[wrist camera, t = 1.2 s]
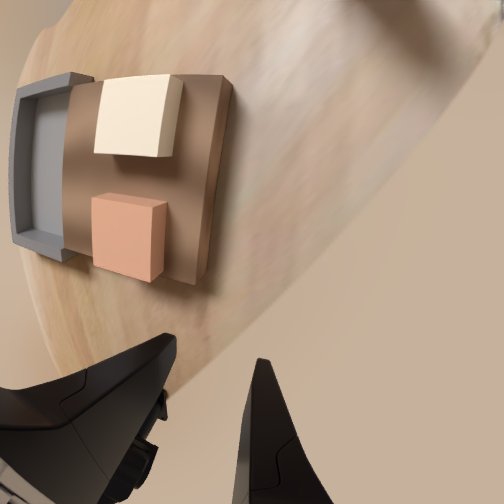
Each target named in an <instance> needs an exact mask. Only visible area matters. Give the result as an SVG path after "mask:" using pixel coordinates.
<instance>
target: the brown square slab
mask: <svg viewBox="0 0 504 504" xmlns="http://www.w3.org/2000/svg"><path fill="white" fill-rule="evenodd" d="M173 76H174V77H176V78H178V79H180V80H182V81H184V83H183V89H182V94H181V100H180V105H179V111H178V118H177V124H176V131H175V138H174V145H173V153H172V156H168V157H150V156H138V155H123V154H105V153H94V146H95V136H96V128H97V120H98V113H99V106H100V100H101V95H102V89H103V84H104V81H98V82H92V83H86V84H80V85H75V86H72V89H71V95H70V101H69V107H68V114H67V121H66V129H65V139H64V151H63V168H62V221H63V238H64V248H66V249H69V250H73V251H76V252H79V253H82V254H85V255H88V256H92V257H93V249H92V218H91V202H92V197H95V196H98V195H102V194H106V193H115V194H121V195H128V196H134V197H141V198H147V199H153V200H159V201H165V202H167V212H166V227H165V245H164V271H163V272H162V273H161V274H159V275H158V276H161V277H165V278H169V279H172V280H176V281H180V282H184V283H188V284H192V285H196V284H197V283H198V281H199V280H200V279H201V278H202V276H203V275H204V274H205V273H206V271H207V261H208V252H209V243H210V234H211V225H212V217H213V209H214V201H215V194H216V186H217V179H218V172H219V165H220V158H221V152H222V145H223V139H224V132H225V126H226V120H227V114H228V108H229V102H230V97H231V91H232V86H233V85H232V84H231V83H230V82H229V81H228V80H227V79H226V78H225V77H224V76H223V75H173Z"/></svg>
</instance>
